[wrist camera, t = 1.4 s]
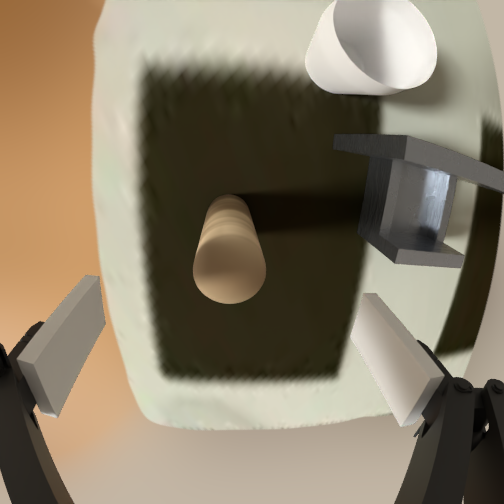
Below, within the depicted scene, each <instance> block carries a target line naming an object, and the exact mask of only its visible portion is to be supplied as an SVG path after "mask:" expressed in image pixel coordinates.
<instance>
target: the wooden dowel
mask: <svg viewBox="0 0 504 504" xmlns="http://www.w3.org/2000/svg"><path fill="white" fill-rule="evenodd" d="M193 275H194V280H195V282H196V284H197V286H198V288H199V289H200V291H201V292H202V293H203V294H204V295H206V296H207V297H208V298H210V299H212V300H214V301H217V302H220V303H226V304H232V303H239V302H242V301H245V300H247V299H249V298H250V297H252V296H253V295H255V294H256V293H257V292H258V291H259V289H260V288H261V286H262V284H263V283H264V280H265V276H266V265H265V260H264V257H263V254H262V250H261V247H260V244H259V241H258V237H257V234H256V231H255V227H254V224H253V221H252V218H251V214H250V211H249V208H248V206H247V204H246V203H245V201H244V200H243V199H241V198H240V197H238V196H235V195H231V194H227V195H222V196H219V197H217V198H216V199H215V200H214V201H213V202H212V203H211V204H210V206H209V208H208V212H207V215H206V219H205V223H204V226H203V230H202V234H201V238H200V241H199V245H198V249H197V253H196V257H195V261H194V265H193Z"/></svg>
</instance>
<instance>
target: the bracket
mask: <svg viewBox="0 0 504 504" xmlns="http://www.w3.org/2000/svg"><path fill="white" fill-rule="evenodd" d="M333 149H336V150H341V151H346V152H351V153H356V154H361V155H366V156H370V161H369V168H368V175H367V181H366V187H365V193H364V198H363V204H362V209H361V215H360V220H359V225H358V230H357V233H358V234H359V235H360V236H361V237H363V238H364V239H365V240H367V241H368V242H369V243H370V244H371V245H373V246H374V247H375V248H376V249H378V250H379V251H380V252H381V253H383V254H384V255H385V256H386V257H387V258H389V259H390V260H391V261H392V262H393V263H395V264H406V265H421V266H435V267H449V268H461V266H462V263H463V260H464V255H463V254H461V253H460V252H458V251H456V250H455V249H453V248H451V247H450V246H448V245H446V244H445V243H443V241H444V238H445V234H446V230H447V226H448V221H449V217H450V213H451V208H452V203H453V198H454V193H455V188H456V182H457V179H458V180H462V181H465V182H468V183H472V184H475V185H478V186H482V187H485V188H488V189H491V190H494V191H497V192H500V193H503V194H504V172H503V171H500V170H498V169H496V168H494V167H492V166H489V165H487V164H485V163H482V162H480V161H478V160H475V159H473V158H470V157H468V156H465V155H463V154H460V153H457V152H455V151H452V150H449V149H447V148H444V147H441V146H438V145H435V144H432V143H429V142H426V141H423V140H420V139H417V138H414V137H411V136H407V135H382V134H334V142H333Z"/></svg>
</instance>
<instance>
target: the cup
mask: <svg viewBox="0 0 504 504" xmlns="http://www.w3.org/2000/svg"><path fill="white" fill-rule="evenodd" d="M436 62H437V46H436V41H435V38H434V35H433V32H432V30H431V28H430V26H429V24H428V22H427V21H426V19H425V18H424V16H423V15H422V14H421V12H420V11H419V10H418V9H417V8H416V7H415V6H414V5H413V4H412V3H411V2H410V1H408V0H335V1H334V2H332V3H331V4H330V5H329V6H328V7H327V8H326V9H325V11H324V12H323V14H322V16H321V18H320V20H319V23H318V25H317V27H316V30H315V32H314V35H313V37H312V40H311V43H310V45H309V48H308V50H307V53H306V57H305V64H306V69H307V72H308V74H309V76H310V77H311V79H312V80H313V81H314V82H315V83H316V84H317V85H318V86H319V87H320V88H322V89H324V90H326V91H328V92H331V93H335V94H362V95H392V94H396V93H399V92H401V91H404V90H407V89H411V88H414V87H417V86H420V85H421V84H423V83H424V82H426V81H427V80H428V79H429V78H430V76H431V75H432V73H433V71H434V69H435V66H436Z"/></svg>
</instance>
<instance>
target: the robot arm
mask: <svg viewBox="0 0 504 504" xmlns="http://www.w3.org/2000/svg"><path fill="white" fill-rule="evenodd" d="M105 324H106V322H105V316H104V310H103V303H102V295H101V287H100V278H99V276H91V275H85V276H84V278H82V280H81V281H80V282H79V283H78V284H77V285H76V286H75V287H74V289H73V290H72V291H71V292H70V293H69V294H68V295H67V297H66V298H65V299H64V300H63V301H62V302H61V304H60V305H59V306H58V307H57V308H56V310H55V311H54V312H53V313H52V314H51V315H50V317H49V318H48V319H47V320H46V322H41V321H40V322H38V323H36V324H35V325H33V326H31V328H30V329H29V330H28V331H27V332H26V334H25V336H23V337H22V338H21V340H20V341H19V342H18V343H17V345H16V346H15V347H14V348H13V350H12V351H11V352H10V354H9V355H8V356H7V354H6V351H5V349H4V346H3V345H2V344H1V343H0V470H1V473H2V476H3V480H4V482H5V486H6V488H7V492H8V494H9V497H10V500H11V503H12V504H74V503H73V500H72V499H71V497H70V495H69V493H68V491H67V489H66V487H65V485H64V483H63V481H62V479H61V477H60V475H59V473H58V471H57V469H56V466H55V464H54V462H53V460H52V457H51V455H50V453H49V450H48V448H47V445H46V443H45V441H44V438H43V435H42V432H41V430H40V427H39V424H38V421H37V418H36V415H35V413H34V412H33V409H34V407H35V405H36V403H37V405H38V407H39V409H40V411H41V413H42V414H46V415H49V416H52V417H55V418H58V416H59V414H60V412H61V410H62V408H63V406H64V403H65V401H66V399H67V397H68V395H69V393H70V391H71V388H72V387H73V384H74V383H75V381H76V378H77V377H78V375H79V373H80V371H81V369H82V367H83V365H84V363H85V361H86V359H87V357H88V355H89V353H90V352H91V349H92V348H93V346H94V344H95V342H96V340H97V338H98V337H99V335H100V333H101V331H102V330H103V328H104V326H105ZM350 337H351V339H352V341H353V343H354V344H355V346H356V348H357V350H358V351H359V353H360V355H361V357H362V358H363V360H364V362H365V364H366V365H367V367H368V369H369V371H370V372H371V374H372V376H373V378H374V380H375V381H376V383H377V385H378V387H379V388H380V390H381V392H382V394H383V396H384V398H385V399H386V401H387V403H388V405H389V407H390V409H391V410H392V412H393V414H394V416H395V418H396V419H397V422H398V423H399V425H400V427H404V426H408V425H412V424H415V423H416V421H417V420H418V418H419V417H420V415H421V414H422V415H423V417H424V419H425V420H424V422H423V423H422V425H421V426H420V427H419V429H418V430H417V432H416V433H415V435H414V437H416V436H417V435H418V434H419V435H418V439H417V442H416V446H415V449H414V452H413V455H412V458H411V461H410V464H409V467H408V470H407V473H406V475H405V478H404V481H403V483H402V486H401V488H400V491H399V493H398V496H397V498H396V501H395V503H394V504H462V500H463V495H464V504H504V383H503V382H502V381H500V380H496V379H490V380H488V381H487V383H486V384H485V386H484V388H474V387H473V386H472V384H471V383H470V382H468V381H467V380H465V379H463V378H459V377H454V378H453V377H452V376H451V374H450V373H449V372H448V371H447V369H446V368H445V367H444V366H443V364H442V363H441V362H440V361H439V360H437V359H438V358H437V357H436V356H435V355H434V354H433V352H432V351H431V350H430V349H429V347H428V346H427V345H425V344H424V343H422V342H421V341H419V340H416V339H415V338H414V337H413V336H412V334H411V333H410V332H409V331H408V330H407V329H406V327H405V326H404V325H403V324H402V323H401V321H400V320H399V319H398V318H397V317H396V316H395V314H394V313H393V312H392V311H391V310H390V309H389V308H388V306H387V305H386V304H385V303H384V302H383V301H382V300H381V298H380V297H379V296H378V295H377V294H376V293H363V296H362V300H361V303H360V307H359V310H358V314H357V317H356V320H355V323H354V327H353V330H352V333H351V336H350ZM488 423H489V429H488V431H487V432H486V430H485V426H486V425H487V424H488Z"/></svg>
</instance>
